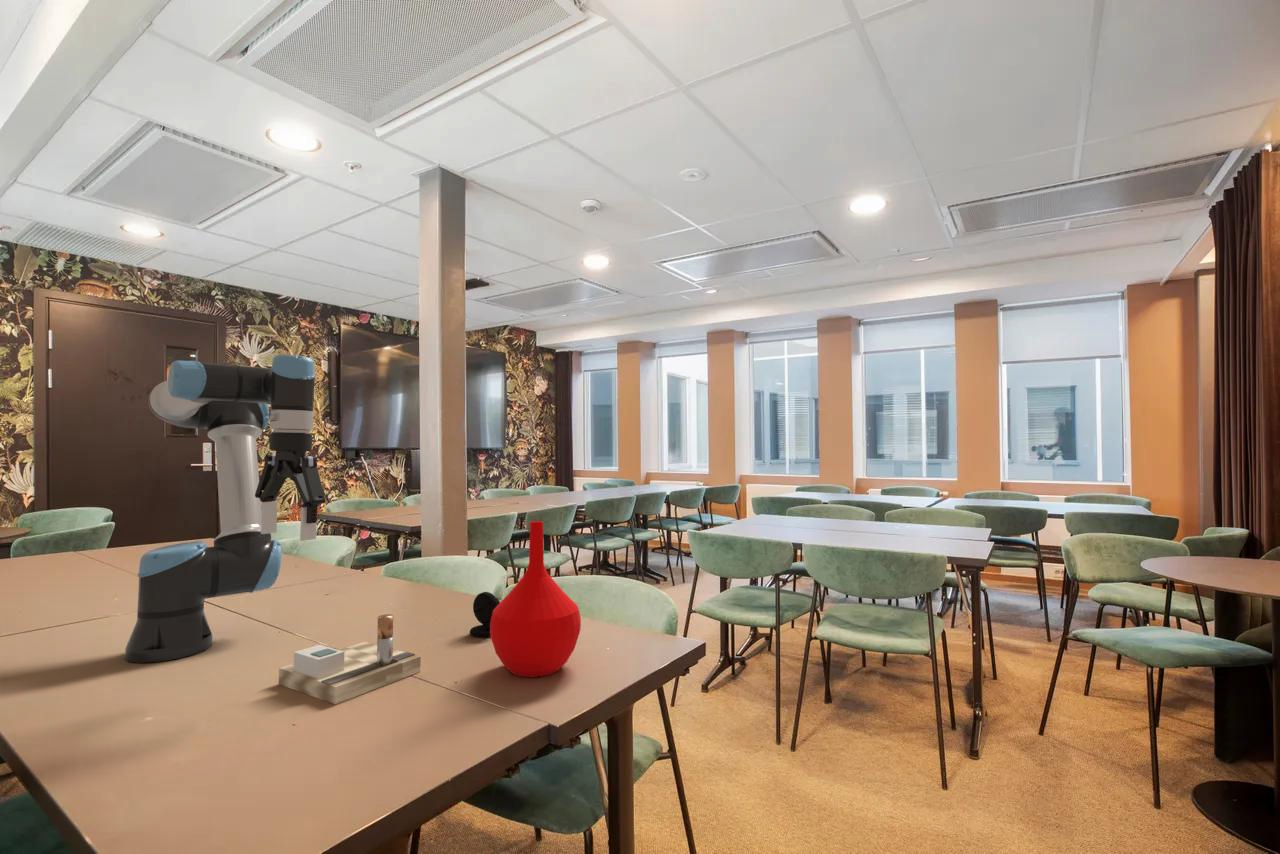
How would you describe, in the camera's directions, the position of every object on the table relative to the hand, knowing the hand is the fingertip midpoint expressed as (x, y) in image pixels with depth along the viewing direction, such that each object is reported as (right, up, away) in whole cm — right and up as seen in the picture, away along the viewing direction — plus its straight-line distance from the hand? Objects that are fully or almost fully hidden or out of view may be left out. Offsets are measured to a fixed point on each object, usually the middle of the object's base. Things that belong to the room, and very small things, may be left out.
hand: (287, 536), depth 119 cm
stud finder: (+11, -24, -8) cm, 27 cm away
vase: (+50, -27, +1) cm, 57 cm away
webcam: (+34, -28, +24) cm, 50 cm away
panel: (+15, -27, -4) cm, 31 cm away
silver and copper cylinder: (+21, -27, -4) cm, 35 cm away
